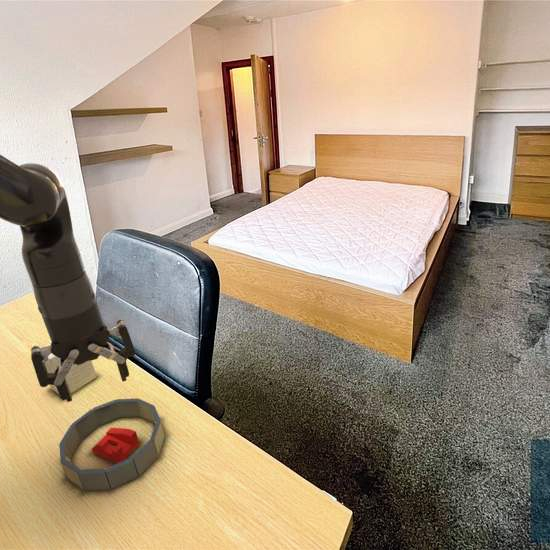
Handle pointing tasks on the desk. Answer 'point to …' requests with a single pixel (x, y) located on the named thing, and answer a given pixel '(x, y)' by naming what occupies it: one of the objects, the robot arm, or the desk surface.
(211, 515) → the desk surface
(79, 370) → the small box
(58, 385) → the robot arm
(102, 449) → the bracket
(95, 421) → the grey segmented ring
